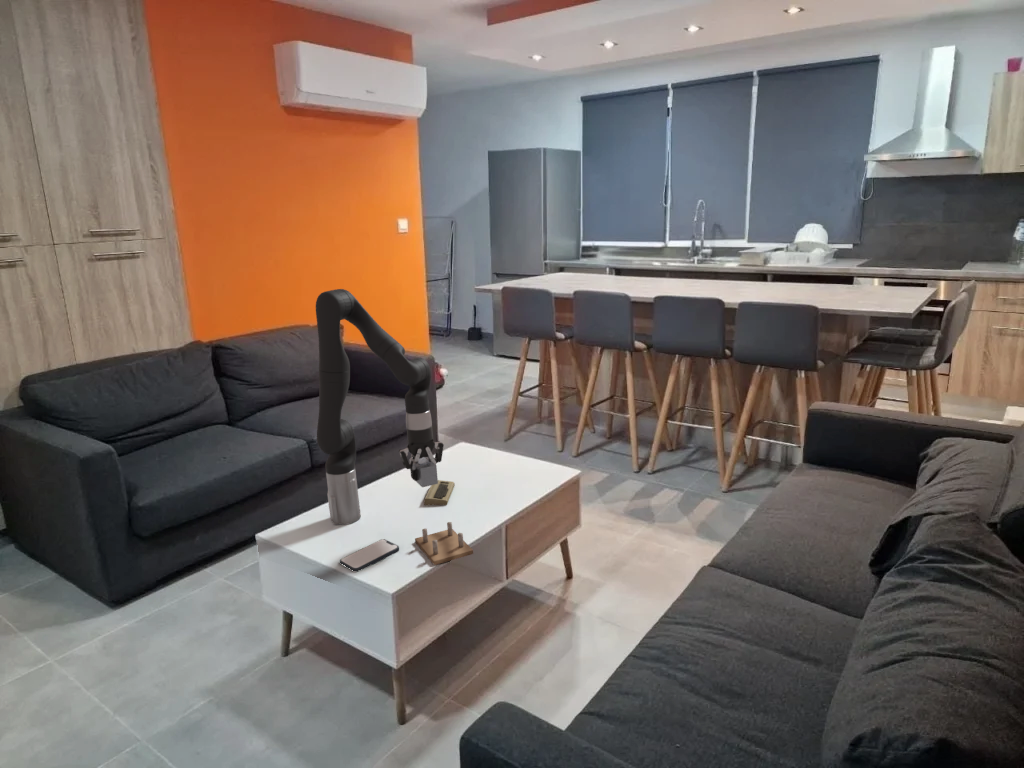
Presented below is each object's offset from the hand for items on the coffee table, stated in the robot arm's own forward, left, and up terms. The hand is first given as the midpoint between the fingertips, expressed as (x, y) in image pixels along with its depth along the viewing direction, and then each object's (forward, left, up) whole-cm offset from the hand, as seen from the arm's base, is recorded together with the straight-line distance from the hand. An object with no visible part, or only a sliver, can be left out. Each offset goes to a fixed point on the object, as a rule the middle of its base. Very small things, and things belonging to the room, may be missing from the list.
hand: (424, 477), depth 204 cm
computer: (+13, +23, -18) cm, 32 cm away
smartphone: (-21, -6, -18) cm, 28 cm away
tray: (0, -13, -18) cm, 22 cm away
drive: (0, 0, -1) cm, 1 cm away
